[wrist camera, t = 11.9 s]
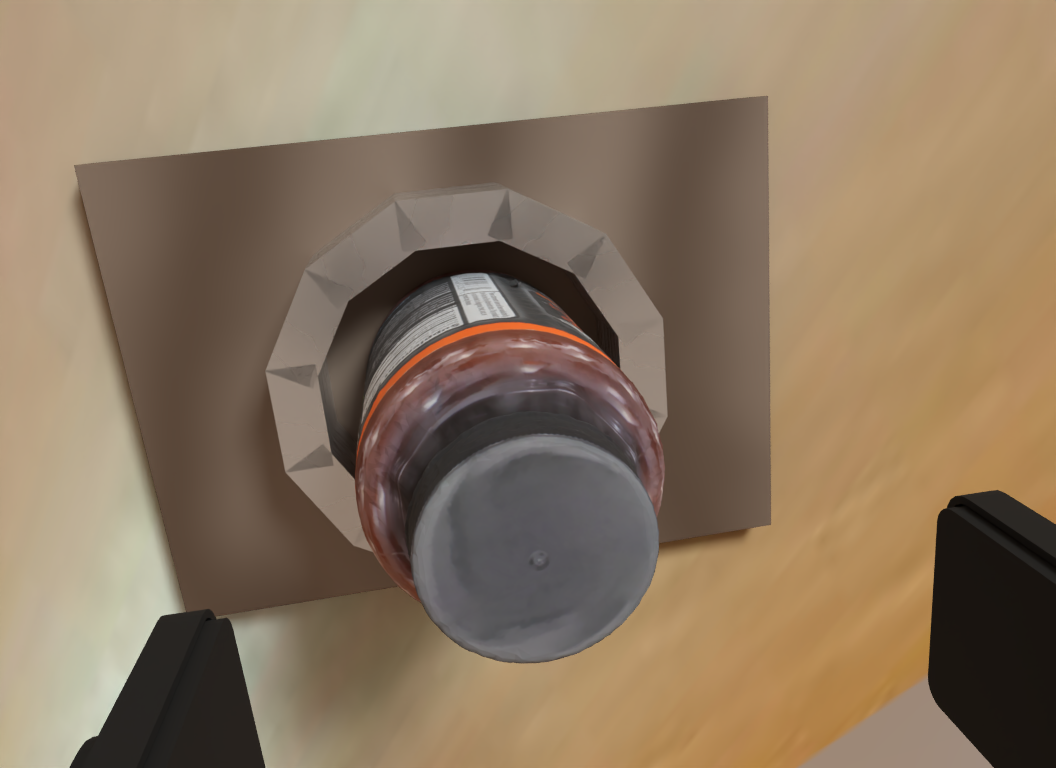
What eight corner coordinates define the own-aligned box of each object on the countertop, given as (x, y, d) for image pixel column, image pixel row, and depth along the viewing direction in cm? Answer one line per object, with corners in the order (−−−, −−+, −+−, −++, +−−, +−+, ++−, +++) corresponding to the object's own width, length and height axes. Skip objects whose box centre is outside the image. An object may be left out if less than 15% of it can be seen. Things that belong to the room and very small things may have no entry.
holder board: (752, 97, 24) (767, 95, 23) (758, 511, 28) (770, 524, 27) (87, 163, 22) (73, 165, 21) (196, 602, 26) (188, 621, 25)
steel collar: (628, 167, 23) (656, 172, 20) (647, 501, 26) (673, 538, 24) (251, 208, 22) (234, 218, 19) (318, 553, 25) (310, 598, 22)
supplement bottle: (612, 396, 25) (782, 601, 14) (440, 502, 25) (479, 787, 14) (508, 221, 23) (613, 303, 12) (322, 337, 23) (263, 520, 12)
